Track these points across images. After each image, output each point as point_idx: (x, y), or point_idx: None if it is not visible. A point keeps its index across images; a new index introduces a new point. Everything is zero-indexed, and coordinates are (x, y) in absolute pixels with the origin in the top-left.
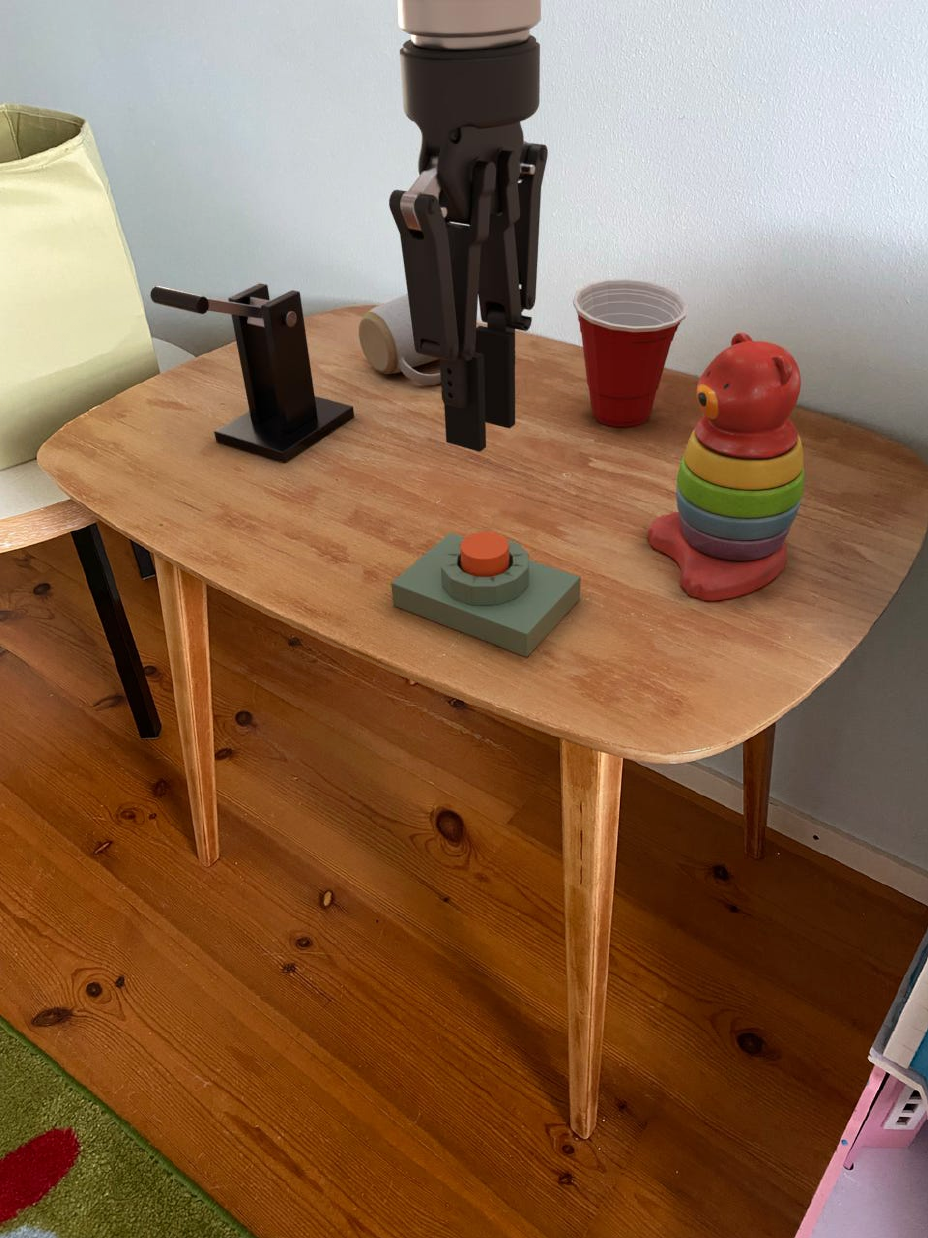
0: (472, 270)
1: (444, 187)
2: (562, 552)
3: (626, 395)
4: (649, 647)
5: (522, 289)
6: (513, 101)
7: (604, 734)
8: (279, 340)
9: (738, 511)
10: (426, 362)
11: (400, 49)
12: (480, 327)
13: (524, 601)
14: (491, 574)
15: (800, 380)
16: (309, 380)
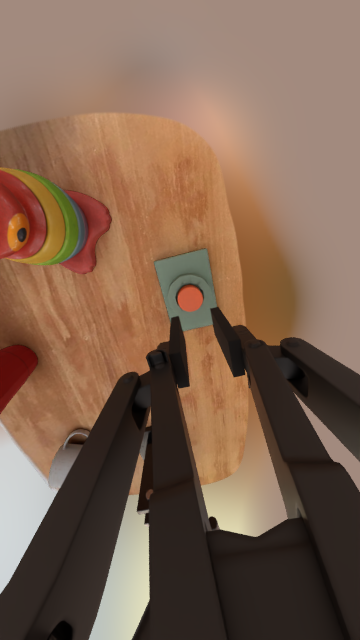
0: (293, 415)
1: None
2: (133, 293)
3: (16, 357)
4: (157, 207)
5: (136, 392)
6: None
7: (221, 179)
8: None
9: (63, 195)
10: (77, 444)
11: None
12: (181, 384)
13: (188, 268)
14: (195, 286)
15: None
16: (146, 455)
